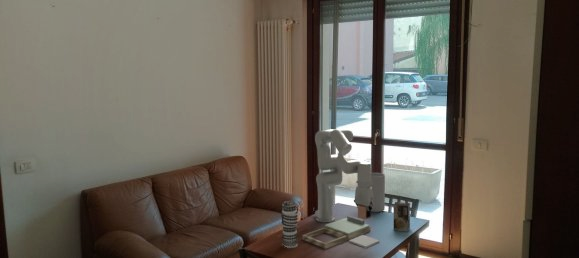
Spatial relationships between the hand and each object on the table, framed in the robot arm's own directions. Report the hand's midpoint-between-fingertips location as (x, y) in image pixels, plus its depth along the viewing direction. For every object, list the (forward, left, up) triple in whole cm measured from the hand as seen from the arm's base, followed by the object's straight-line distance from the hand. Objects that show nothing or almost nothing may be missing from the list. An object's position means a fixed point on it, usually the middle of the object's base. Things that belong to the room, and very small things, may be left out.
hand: (364, 215), depth 235 cm
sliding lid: (-18, +6, -13) cm, 23 cm away
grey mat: (0, 0, -15) cm, 15 cm away
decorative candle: (-26, -33, -16) cm, 45 cm away
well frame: (-18, -3, -15) cm, 24 cm away
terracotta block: (0, 0, -1) cm, 1 cm away
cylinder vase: (-32, +52, -16) cm, 63 cm away
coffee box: (+3, +32, -16) cm, 36 cm away
